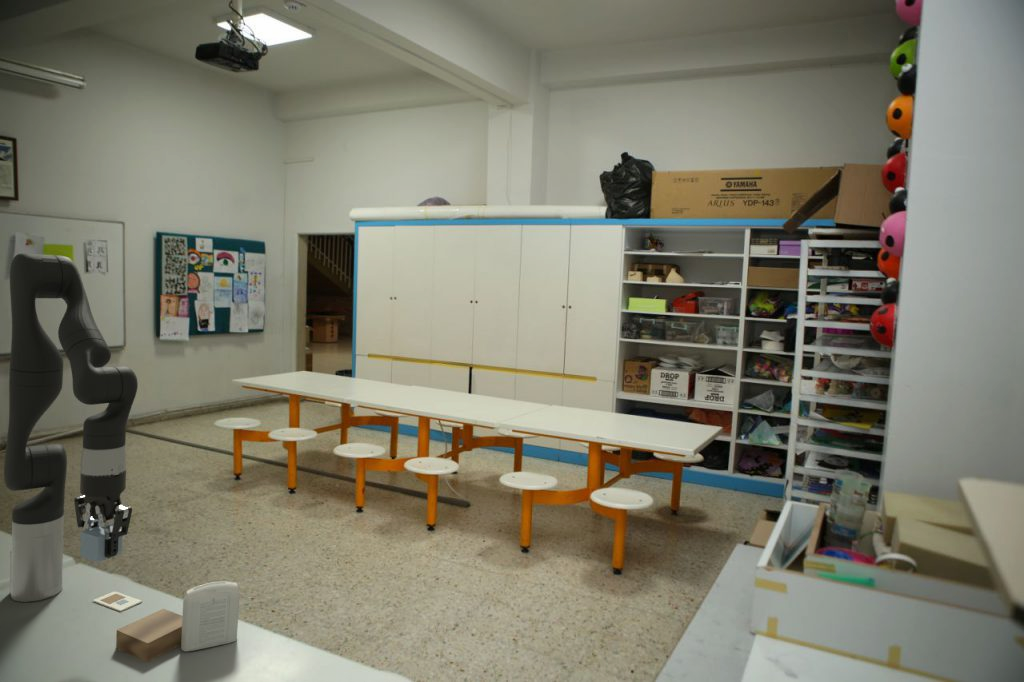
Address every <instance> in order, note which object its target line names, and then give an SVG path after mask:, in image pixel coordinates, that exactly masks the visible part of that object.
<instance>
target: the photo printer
mask: <svg viewBox="0 0 1024 682" xmlns="http://www.w3.org/2000/svg"><path fill="white" fill-rule="evenodd" d="M184 595H185V596H184V597H183V598H184V599H183V602H182V616H183V617H182V636H181V645H180V649H181V651H183V652H192V651H197V650H202V649H208V648H211V647H216V646H217V647H218V646H222V645H226V644H230V643H233V642H236V640H237V638H238V624H239V607H240V606H239V605H240V590H239V587H238V583H237V582H234V581H227V580H226V581H223V580H222V581H221V580H220V581H213V582H211V581H210V582H207V583H203V584H201V585H196V586H194V587H192V588H189V589H188V590H186V591H185V594H184Z"/></svg>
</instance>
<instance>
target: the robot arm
mask: <svg viewBox="0 0 1024 682" xmlns="http://www.w3.org/2000/svg"><path fill="white" fill-rule="evenodd" d="M83 283H84V282H83V279H82V277H81V274H80V272H79V269H78V267H77V264H75V262H74V261H73V259H72V258H70V257H67V256H64V255H58V254H57V255H56V254H39V253H38V254H37V253H18V254H15V256H14V257H13V258H12V260H11V263H10V269H9V292H10V293H9V295H10V312H11V344H10V345H11V346H10V358H9V359H10V360H9V373H8V375H9V379H8V385H9V386H8V387H9V388H8V392H9V393H8V395H9V397H8V400H9V403H8V404H9V405H8V406H9V407H8V409H9V411H8V412H9V413H8V415H9V417H8V425H7V437H6V445H5V454H4V462H3V463H4V465H3V478H4V484H5V486H6V488H7V489H8V490H9V491H12V492H15V491H16V492H18V491H19V492H20V491H28V490H33V489H42V488H43V489H42V490H41V491H40V492H39V493H37V494H35V495H34V496H32V497H31V498H29V499H26V500H23V501H21V502H19V503H18V504H16V505H15V506H14V507H13V509H12V513H11V550H10V554H9V594H10V598H11V600H13V601H15V602H19V601H20V602H21V603H26V602H27V603H28V602H29V603H30V601H31V602H35V601H36V602H38V601H42V600H45V599H49V598H51V597H53V596H55V595H57V594H59V593H60V592H62V590H63V576H64V575H63V573H64V572H63V570H64V569H63V567H64V561H63V560H64V520H65V519H64V518H65V515H64V514H65V494H66V493H65V492H66V480H67V471H68V470H67V469H68V468H67V467H68V459H67V458H68V457H67V451H66V449H65V447H64V446H63V445H61V444H59V443H53V444H52V443H51V444H42V445H33V446H32V445H31V446H30V445H29V446H27V445H28V442H29V439H30V436H31V433H32V431H33V429H34V427H36V424H37V423H38V422H39V421H40V419H41V418H42V417H43V415H44V414H45V412H47V410H48V409H49V408H50V407H51V406H52V405H53V404H54V402H55V401H56V399H57V398H58V397H59V395H60V393H61V391H62V389H63V379H64V358H63V356H62V353H61V352H60V349H58V347H57V345H56V344H55V343H54V342H53V340H52V339H51V338H50V336H49V335H48V334H47V332H46V331H45V330H44V328H43V325H42V324H41V322H40V321H39V318H38V314H37V308H36V299H62V300H63V301H64V302H65V304H66V310H65V312H64V315H63V317H62V319H61V320H60V323H59V327H58V331H57V336H58V341H59V344H60V346H61V348H62V349H63V351H64V353H65V355H66V357H67V359H68V362H69V364H70V369H71V376H72V377H71V378H72V391H73V395H74V397H75V398H76V399H77V400H78V401H79V402H81V403H82V404H85V405H90V406H91V405H92V406H93V405H102V404H108V405H107V407H106V408H105V409H104V410H103V411H101V412H100V413H97V414H94V415H91V416H89V417H87V418H86V419H85V420H84V422H83V427H82V428H83V429H82V430H83V431H82V452H81V455H80V456H81V457H80V479H79V482H80V483H79V484H80V485H79V486H80V487H79V493H80V494H81V496H77V497H74V499H73V502H74V503H73V504H74V509H75V510H74V511H75V518H76V525H77V528H82V531H85V530H88V529H91V528H95V527H98V526H100V527H101V528H103V529H104V534H105V538H106V539H105V557H107V558H109V559H111V558H114V557H116V556H115V555H117V553H118V539H119V537H120V536H122V537H123V536H127V535H128V533H129V527H130V523H131V522H130V521H131V517H132V513H133V508H132V507H131V506H123V504H122V500H121V494H123V492H125V490H126V487H127V486H126V485H127V483H126V482H127V450H126V439H127V438H126V437H127V436H126V435H127V433H126V432H127V431H126V428H127V423H128V420H129V416H130V412H131V410H132V407H133V404H134V401H135V399H136V396H137V393H138V387H139V386H138V378H137V375H136V373H135V372H134V371H133V369H132V368H130V367H128V366H124V365H121V366H119V365H118V366H117V365H116V366H106V365H108V364H109V362H110V361H111V359H112V352H111V349H110V348H109V346H108V343H107V342H106V340H105V338H104V336H103V335H102V333H101V330H100V329H99V327H98V325H97V323H96V321H95V319H94V316H93V313H92V309H91V306H90V303H89V300H88V299H89V298H88V296H87V293H86V290H85V287H84V284H83ZM111 520H112V521H111ZM107 521H110V522H107ZM110 526H113V530H112V532H111V531H110ZM120 529H122V530H120ZM113 556H114V557H113ZM117 556H118V555H117ZM110 557H111V558H110Z"/></svg>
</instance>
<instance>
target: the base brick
mask: <svg viewBox="0 0 1024 682" xmlns="http://www.w3.org/2000/svg"><path fill="white" fill-rule="evenodd" d="M182 617H183V614H179V613H177V612H173V611H171V610H168V609H166V608H161V609H159V610H158V611H155V612H152V613H150V614H148V615H146V616H144V617H142V618H140V619H137V620H136V621H133V622H131V623H129V624H127V625H125V626H122V627H120V628H118V629H116V636H115V637H116V639H115V640H116V641H115V643H116V644H115V649H118V650H120V651H121V652H124V653H125V654H128V655H131V656H133V657H135V658H137V659H140V660H142V661H144V662H147V663H149V662H150V661H152V660H154V659H157V658H158V657H160V656H161V655H163V654H166V653H167V652H169V651H171V650H173V649H175V648H177V647H178V646H181V636H182Z"/></svg>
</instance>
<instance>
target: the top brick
mask: <svg viewBox="0 0 1024 682" xmlns="http://www.w3.org/2000/svg"><path fill="white" fill-rule="evenodd" d="M112 530H113V526H110V531H111V532H112ZM120 530H122V528H120ZM105 539H106V538H105V534H104V529H103V528H101V527H100V526H98V527H95V528H91V529H88V530H85V531H83V530H82V531H80V543H79V544H80V545H79V546H80V547H79V548H80V549H79V552H80V553H79V557H80V558H83V559H85V560H88V561H90V562H91V561H92V562H95V563H99V562H100V563H101V562H102V561H106V560H108V559H111V558H114V557H116V556H119V555H122V554H123V536H120V537H119V539H118V553H117V555H115V556H113V557H110V558H107V557H105Z"/></svg>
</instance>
